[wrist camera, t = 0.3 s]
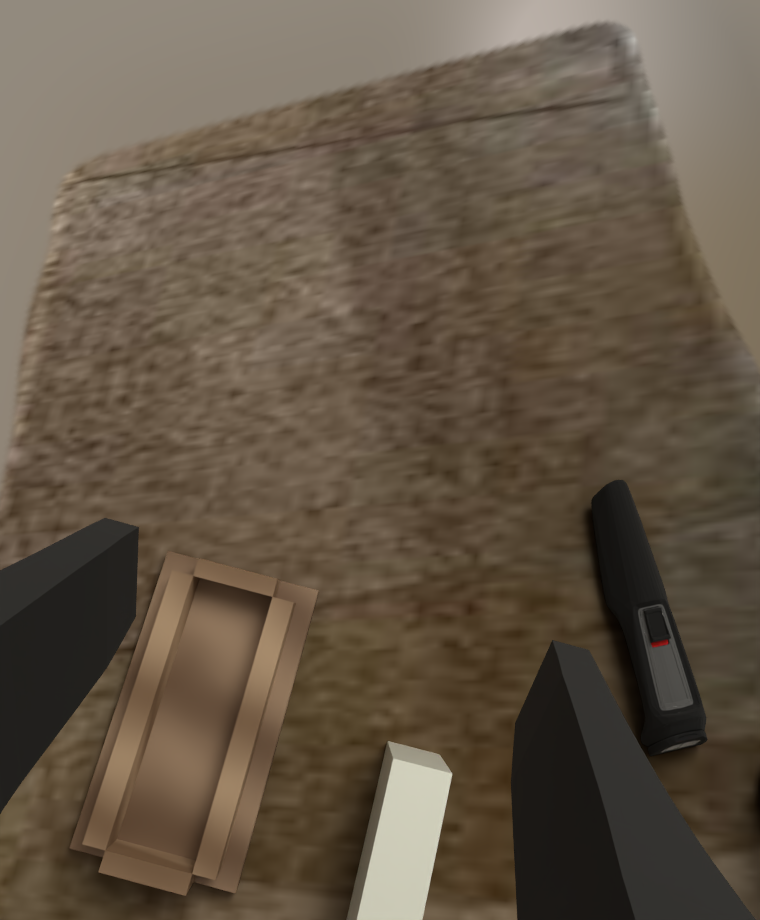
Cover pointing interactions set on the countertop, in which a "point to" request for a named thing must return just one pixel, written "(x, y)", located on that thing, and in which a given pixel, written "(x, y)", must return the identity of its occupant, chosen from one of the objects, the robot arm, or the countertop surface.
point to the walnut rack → (196, 727)
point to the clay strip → (401, 836)
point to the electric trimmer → (646, 624)
